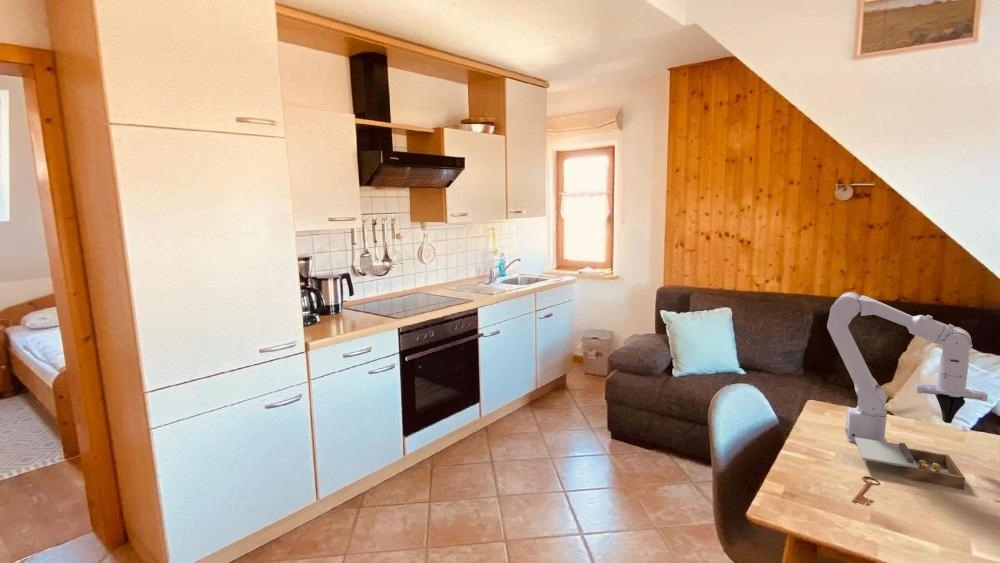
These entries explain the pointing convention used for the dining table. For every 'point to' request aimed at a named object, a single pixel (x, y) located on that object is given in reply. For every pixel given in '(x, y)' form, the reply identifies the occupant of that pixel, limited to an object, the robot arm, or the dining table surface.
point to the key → (866, 486)
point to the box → (938, 478)
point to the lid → (885, 452)
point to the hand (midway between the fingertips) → (946, 421)
